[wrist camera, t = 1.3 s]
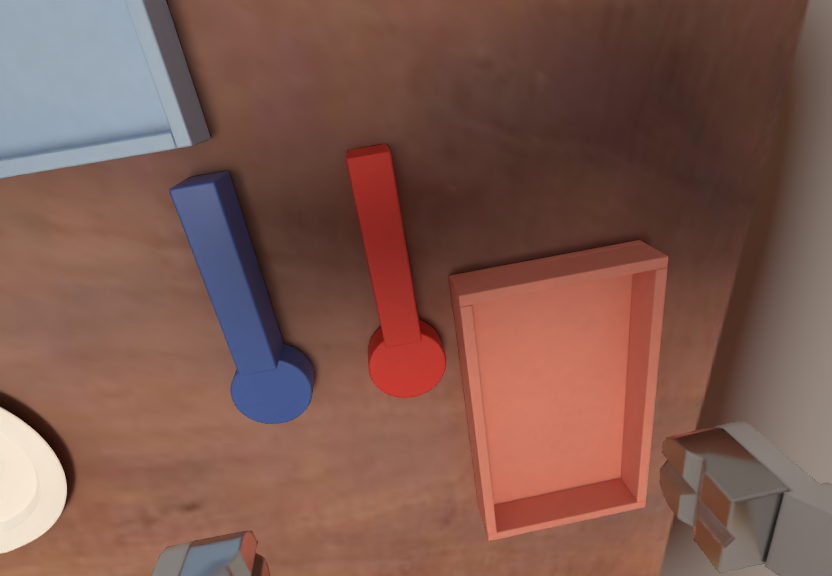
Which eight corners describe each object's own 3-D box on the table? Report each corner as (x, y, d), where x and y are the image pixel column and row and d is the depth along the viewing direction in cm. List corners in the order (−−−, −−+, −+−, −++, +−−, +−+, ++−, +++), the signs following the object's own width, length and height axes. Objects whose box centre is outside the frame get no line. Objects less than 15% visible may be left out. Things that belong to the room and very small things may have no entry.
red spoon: (321, 154, 20) (318, 163, 18) (410, 138, 21) (417, 146, 18) (375, 386, 26) (377, 414, 24) (445, 372, 26) (453, 399, 24)
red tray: (448, 275, 24) (458, 296, 21) (639, 239, 24) (669, 256, 22) (478, 507, 31) (488, 541, 29) (624, 476, 31) (645, 507, 29)
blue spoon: (162, 181, 20) (138, 194, 18) (253, 166, 20) (242, 176, 18) (250, 411, 25) (240, 442, 23) (322, 397, 26) (319, 426, 23)
